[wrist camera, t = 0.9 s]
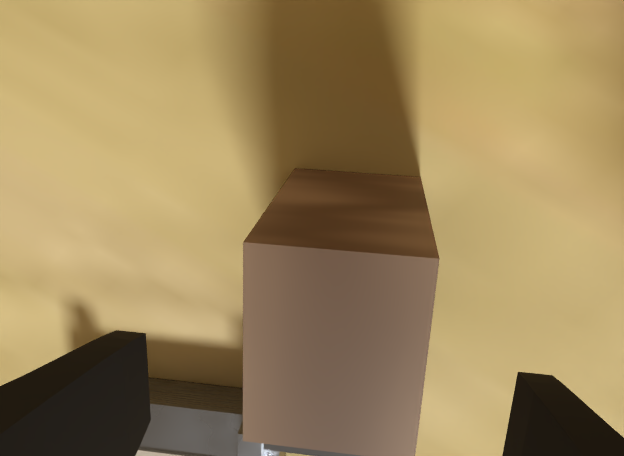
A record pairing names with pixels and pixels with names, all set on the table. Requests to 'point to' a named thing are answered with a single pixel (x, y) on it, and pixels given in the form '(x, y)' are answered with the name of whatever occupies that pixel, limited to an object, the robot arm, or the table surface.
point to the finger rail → (197, 421)
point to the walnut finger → (338, 315)
